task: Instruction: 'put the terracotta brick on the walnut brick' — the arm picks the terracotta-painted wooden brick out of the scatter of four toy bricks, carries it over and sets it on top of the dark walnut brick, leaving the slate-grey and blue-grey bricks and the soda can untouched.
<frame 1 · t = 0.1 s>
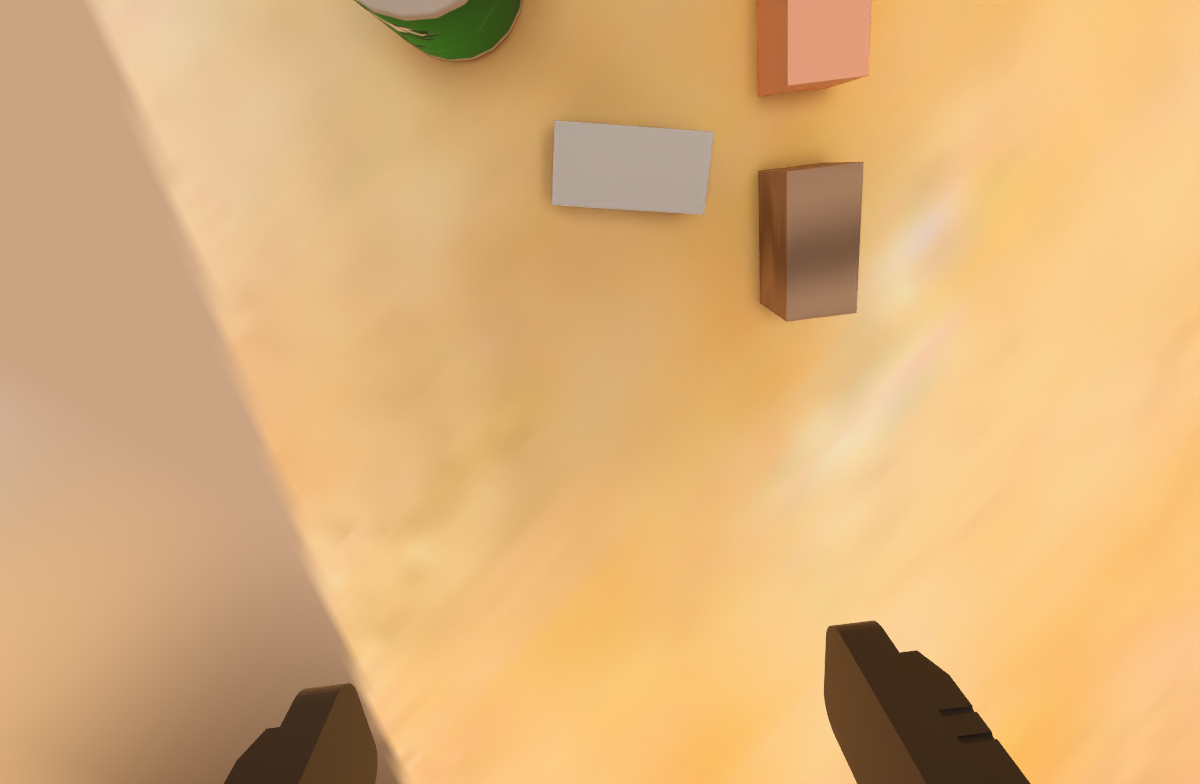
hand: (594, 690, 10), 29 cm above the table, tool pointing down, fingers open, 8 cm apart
slate brick: (623, 168, 34), on the table
walnut brick: (790, 235, 36), on the table
terracotta brick: (792, 11, 32), on the table
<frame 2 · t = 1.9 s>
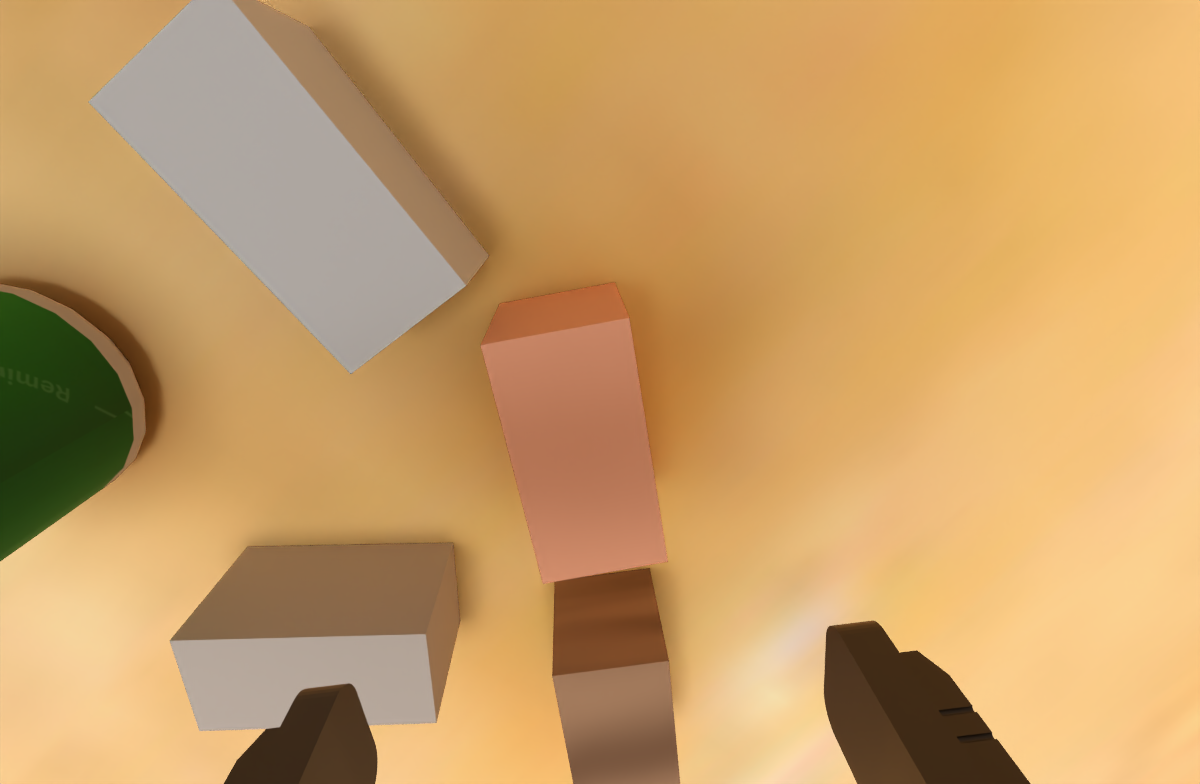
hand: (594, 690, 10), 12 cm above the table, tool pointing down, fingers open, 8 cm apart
blue-grey brick: (359, 189, 18), on the table
slate brick: (359, 582, 24), on the table
soda can: (54, 381, 20), on the table
walnut brick: (612, 644, 26), on the table
terracotta brick: (578, 397, 22), on the table
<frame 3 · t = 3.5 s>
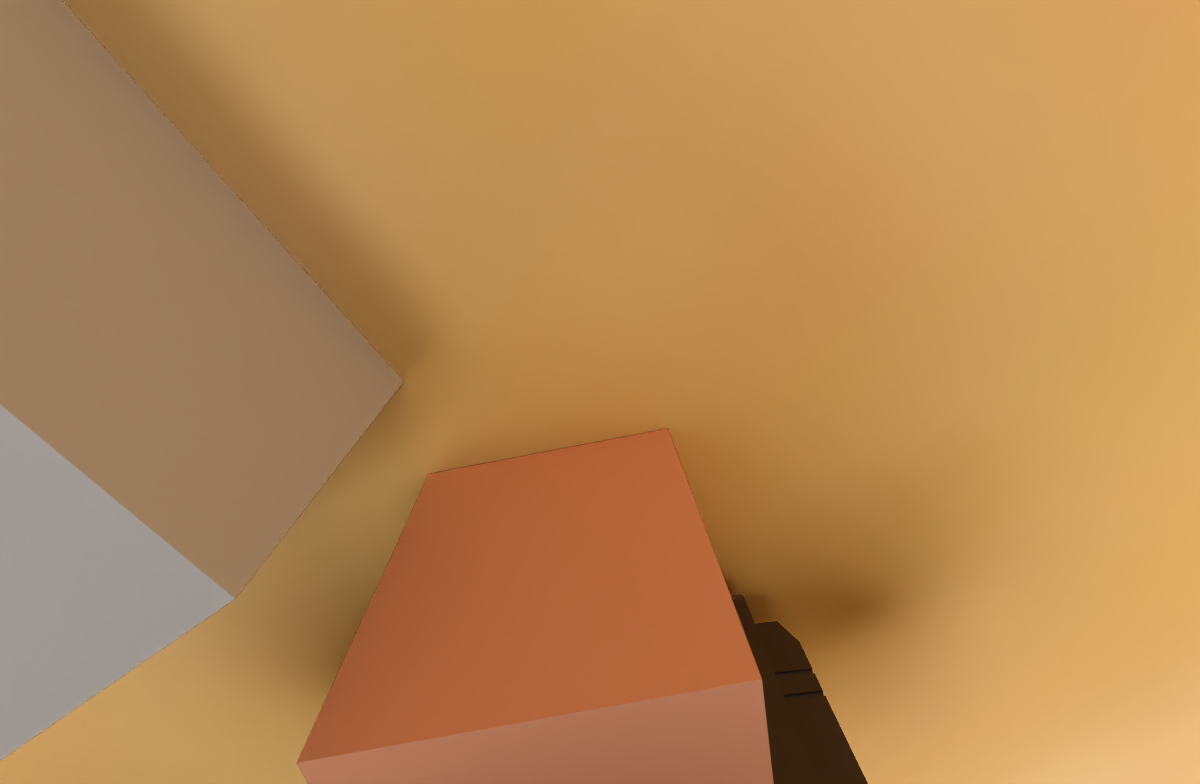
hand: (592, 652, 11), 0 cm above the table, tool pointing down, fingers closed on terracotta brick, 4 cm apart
blue-grey brick: (103, 240, 8), on the table
terracotta brick: (593, 637, 11), on the table, touching gripper
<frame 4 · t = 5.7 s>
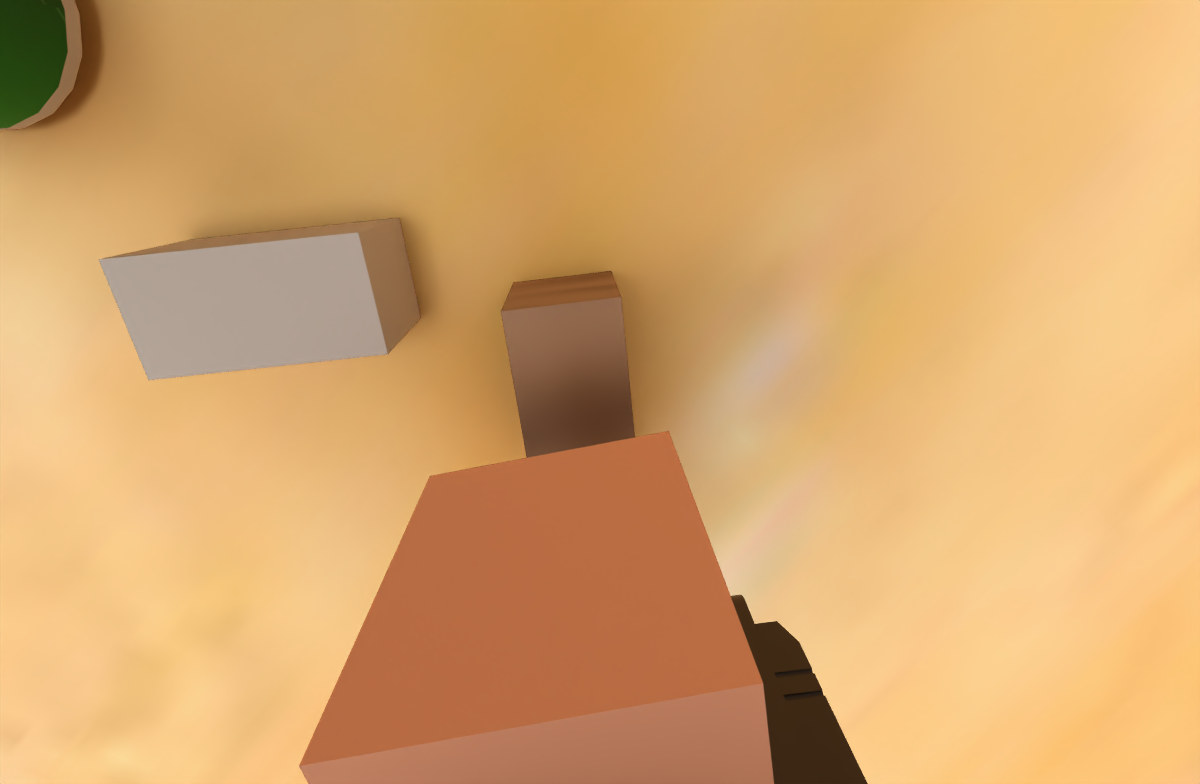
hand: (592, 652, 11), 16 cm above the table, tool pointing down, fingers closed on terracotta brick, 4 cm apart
slate brick: (311, 279, 23), on the table
walnut brick: (574, 367, 25), on the table
terracotta brick: (593, 638, 11), point 15 cm above the table, touching gripper
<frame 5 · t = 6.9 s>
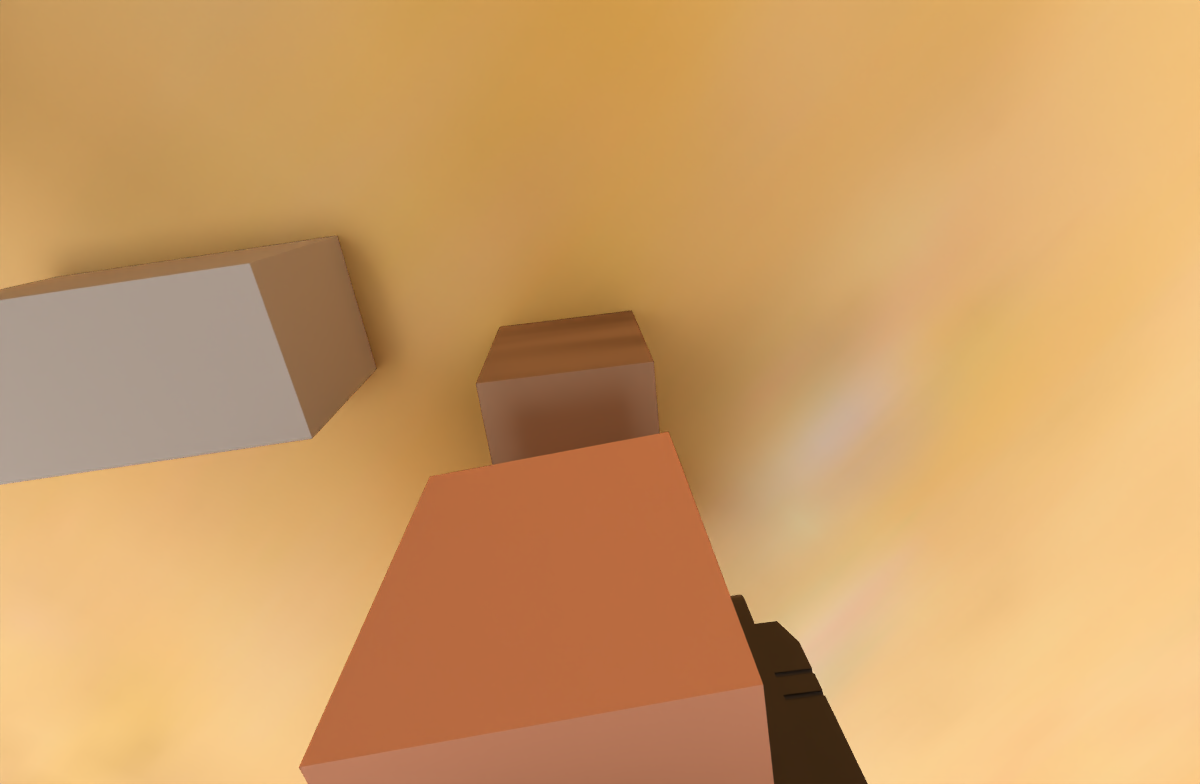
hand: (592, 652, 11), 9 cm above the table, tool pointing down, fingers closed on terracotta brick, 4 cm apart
slate brick: (225, 323, 17), on the table
walnut brick: (582, 435, 19), on the table
terracotta brick: (593, 639, 11), point 9 cm above the table, touching gripper
when the fingers open (6 cm above the table, at t = 7.8 s): terracotta brick stays where it is, resting on walnut brick.
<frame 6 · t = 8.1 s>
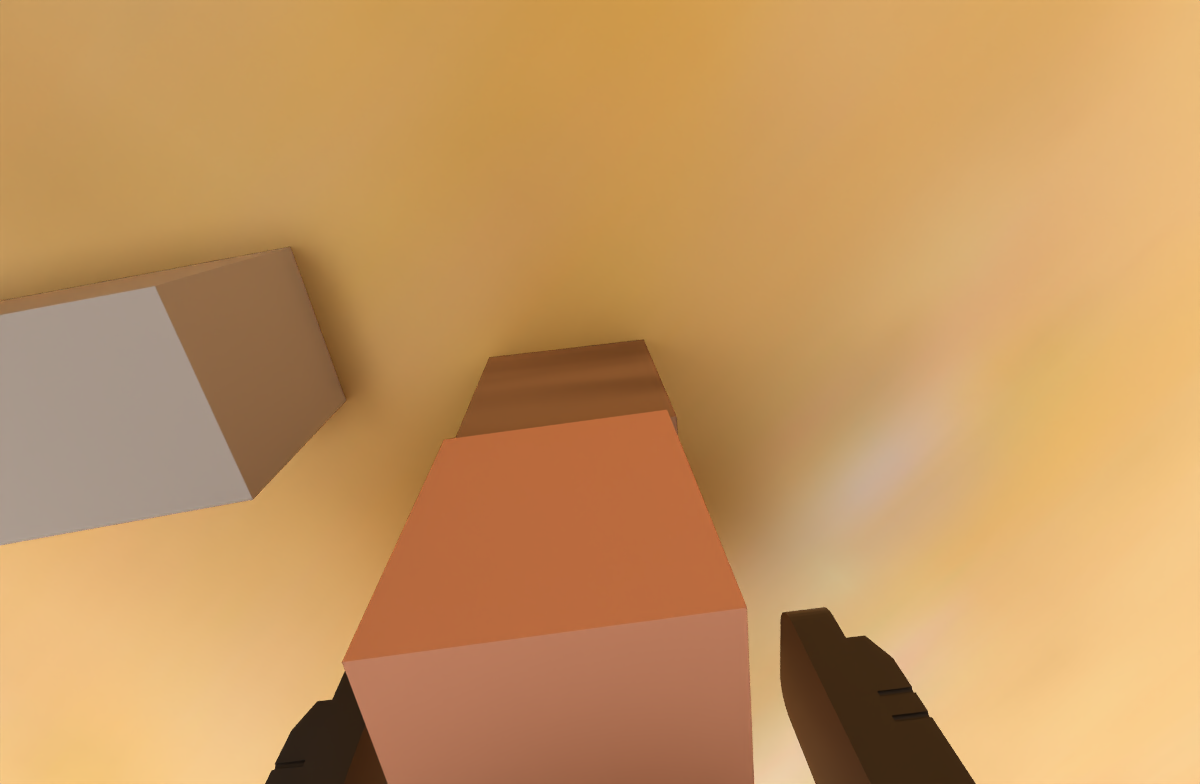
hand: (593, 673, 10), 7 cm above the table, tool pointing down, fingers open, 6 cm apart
slate brick: (166, 354, 15), on the table
walnut brick: (584, 482, 17), on the table, touching terracotta brick
terracotta brick: (585, 602, 12), point 5 cm above the table, touching walnut brick
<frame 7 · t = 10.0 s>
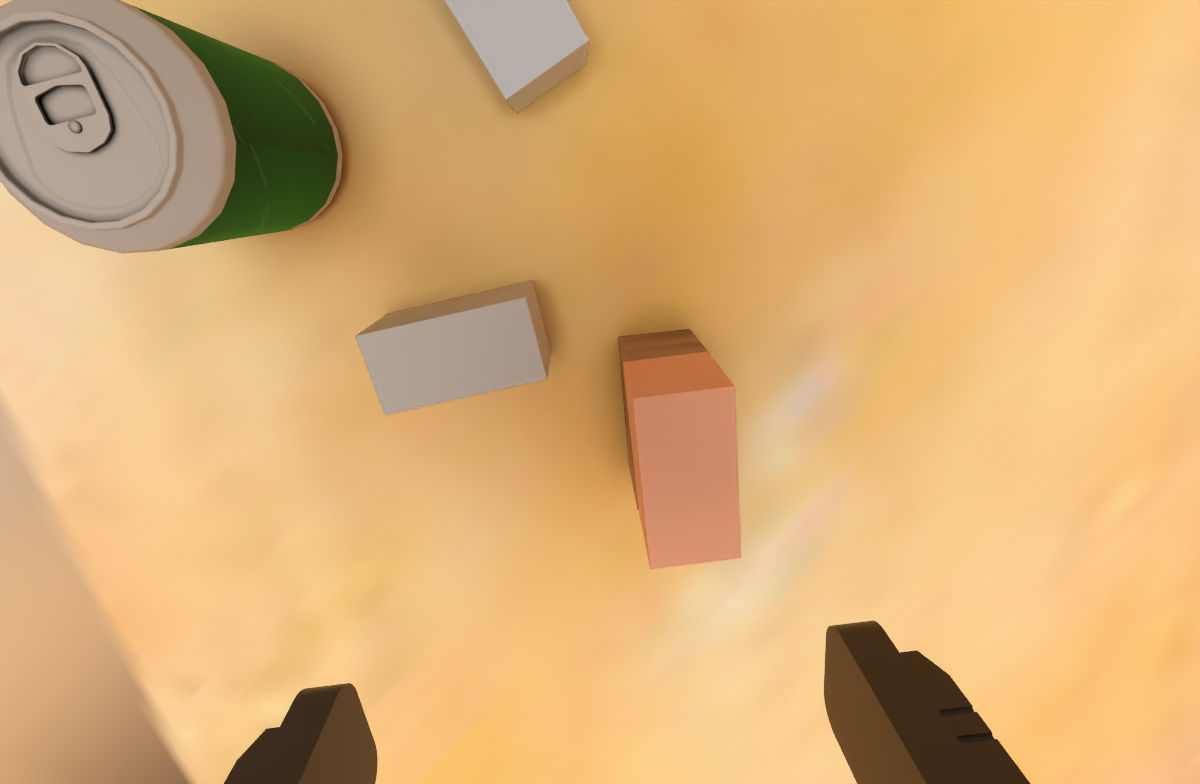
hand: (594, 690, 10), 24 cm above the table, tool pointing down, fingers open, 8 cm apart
blue-grey brick: (502, 7, 27), on the table
slate brick: (471, 332, 32), on the table
soda can: (273, 149, 29), on the table
walnut brick: (658, 400, 34), on the table, touching terracotta brick
terracotta brick: (671, 433, 29), point 5 cm above the table, touching walnut brick
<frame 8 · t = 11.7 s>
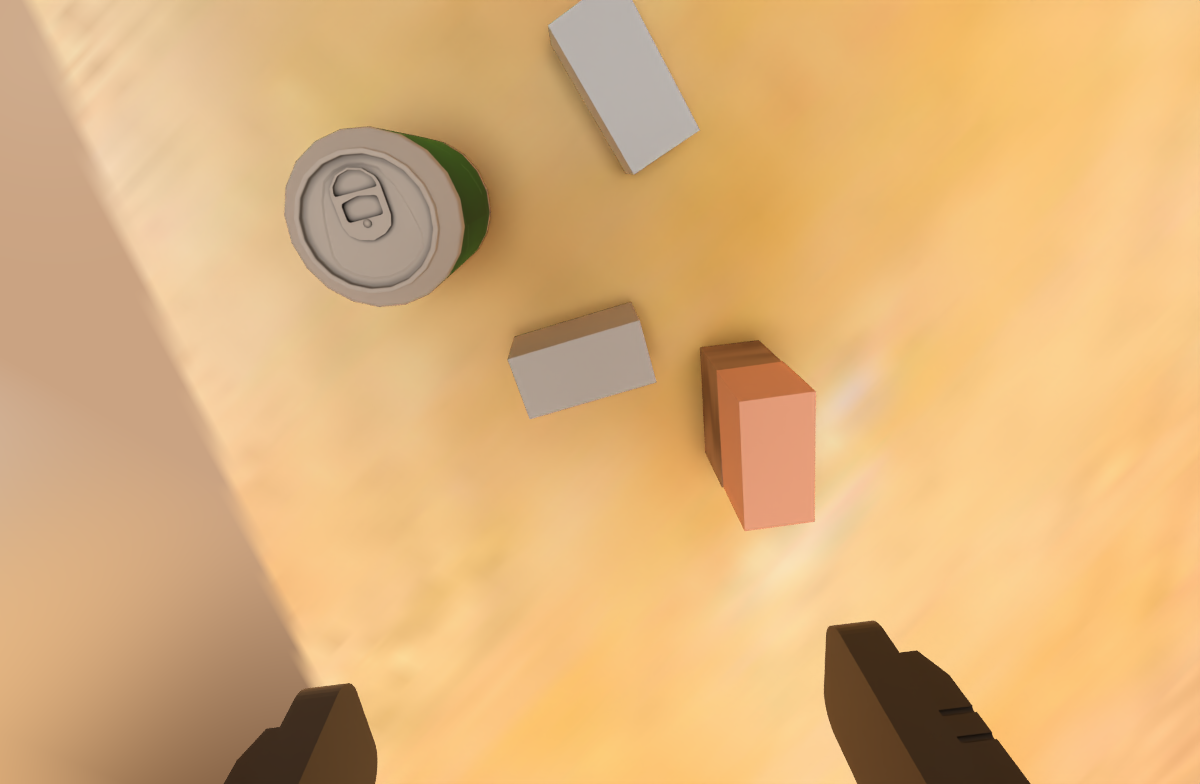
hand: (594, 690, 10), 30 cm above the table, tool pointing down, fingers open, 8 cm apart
blue-grey brick: (618, 91, 34), on the table
slate brick: (581, 346, 39), on the table
soda can: (431, 205, 36), on the table
walnut brick: (730, 398, 41), on the table, touching terracotta brick
terracotta brick: (751, 426, 36), point 5 cm above the table, touching walnut brick
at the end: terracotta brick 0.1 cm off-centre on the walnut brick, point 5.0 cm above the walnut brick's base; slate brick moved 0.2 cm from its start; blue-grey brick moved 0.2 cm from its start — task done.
